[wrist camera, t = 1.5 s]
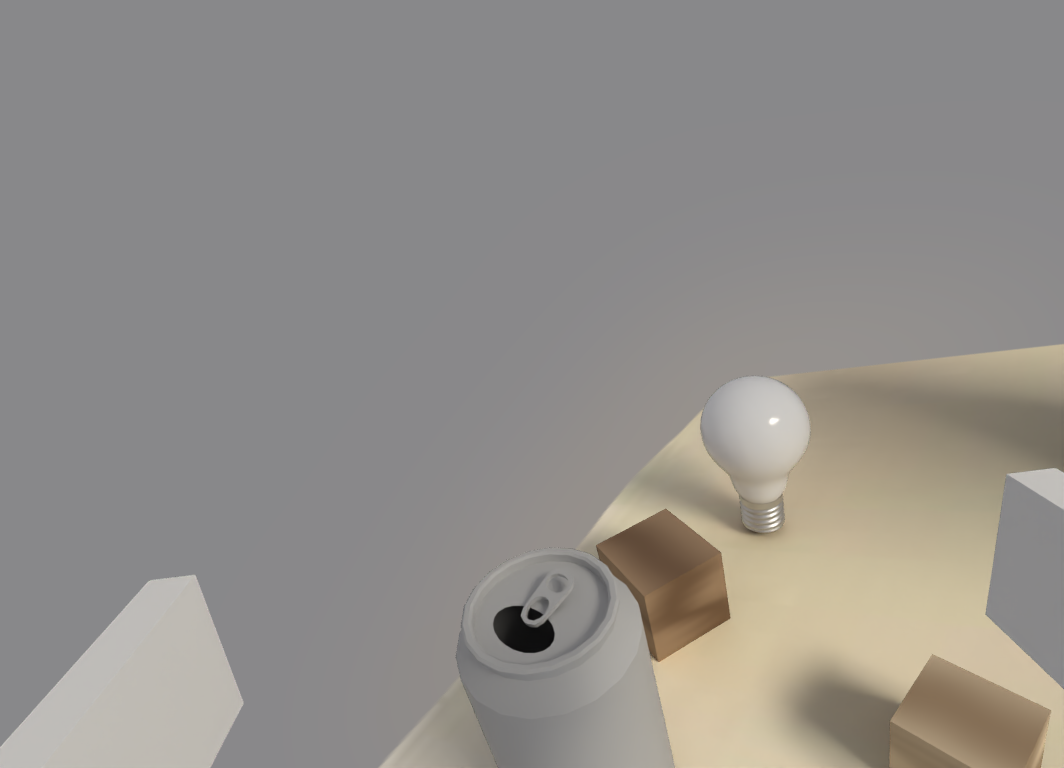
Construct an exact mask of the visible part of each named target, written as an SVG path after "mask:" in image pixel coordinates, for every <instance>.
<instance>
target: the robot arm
mask: <svg viewBox="0 0 1064 768" xmlns="http://www.w3.org/2000/svg"><path fill="white" fill-rule="evenodd" d="M986 615H987V616H988V617H989V618H990V619H991V620H992V621H993V622H994V623H995V624H996V625H997V626H998V627H999V628H1000V629H1001V630H1002V631H1003V632H1004V633H1006V634H1007V635H1008V636H1009V637H1010V638H1011V639H1012V640H1013V641H1014V642H1015V643H1016V644H1017V645H1018V646H1019V647H1020V648H1021V649H1022V650H1023V651H1024V652H1025V653H1026V654H1028V655H1029V656H1030V657H1031V658H1032V659H1033V660H1034V661H1035V662H1036V663H1037V664H1038V665H1039V666H1040V667H1041V668H1042V669H1043V670H1044V671H1045V672H1046V673H1047V674H1049V675H1050V676H1051V677H1052V678H1053V679H1054V680H1055V681H1056V682H1057V683H1058V684H1059V685H1060V686H1061V687H1062V688H1063V689H1064V472H1062V471H1060V470H1058V469H1057V468H1050V469H1042V470H1034V471H1026V472H1018V473H1010V474H1006V481H1005V487H1004V494H1003V501H1002V507H1001V514H1000V521H999V528H998V534H997V541H996V548H995V554H994V561H993V568H992V574H991V581H990V588H989V595H988V601H987V608H986ZM242 705H243V700H242V697H241V695H240V692H239V689H238V687H237V684H236V682H235V679H234V676H233V674H232V671H231V669H230V666H229V663H228V660H227V658H226V655H225V653H224V650H223V647H222V645H221V642H220V639H219V637H218V634H217V631H216V629H215V626H214V623H213V621H212V618H211V616H210V613H209V610H208V608H207V605H206V602H205V600H204V597H203V594H202V592H201V589H200V587H199V584H198V581H197V579H196V576H195V575H190V576H182V577H174V578H166V579H158V580H149V581H148V582H147V584H146V585H145V586H144V587H143V588H142V589H141V590H140V591H139V593H138V594H137V595H136V596H135V597H134V598H133V599H132V600H131V601H130V603H129V604H128V605H127V606H126V607H125V608H124V610H123V611H122V612H121V613H120V614H119V615H118V616H117V617H116V618H115V619H114V620H113V622H112V623H111V624H110V625H109V626H108V627H107V628H106V629H105V631H104V632H103V633H102V634H101V635H100V636H99V637H98V638H97V640H96V641H95V642H94V643H93V644H92V645H91V646H90V647H89V648H88V650H87V651H86V652H85V653H84V654H83V655H82V656H81V657H80V659H79V660H78V661H77V662H76V663H75V664H74V665H73V666H72V668H71V669H70V670H69V671H68V672H67V673H66V674H65V675H64V676H63V678H62V679H61V680H60V681H59V682H58V683H57V684H56V685H55V686H54V688H53V689H52V690H51V691H50V692H49V693H48V694H47V695H46V697H45V698H44V699H43V700H42V701H41V702H40V703H39V704H38V705H37V707H36V708H35V709H34V710H33V711H32V712H31V713H30V714H29V716H28V717H27V718H26V719H25V720H24V721H23V722H22V723H21V724H20V726H19V727H18V728H17V729H16V730H15V731H14V733H12V735H11V736H10V737H9V738H8V739H7V740H6V741H5V742H4V744H3V745H2V746H1V747H0V768H210V767H211V766H212V764H213V762H214V760H215V758H216V756H217V754H218V752H219V750H220V748H221V746H222V744H223V742H224V740H225V738H226V736H227V734H228V732H229V730H230V729H231V726H232V725H233V723H234V721H235V719H236V717H237V715H238V713H239V711H240V709H241V707H242Z"/></svg>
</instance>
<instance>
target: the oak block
mask: <svg viewBox="0 0 1064 768" xmlns="http://www.w3.org/2000/svg"><path fill="white" fill-rule="evenodd" d="M1050 713H1051V710H1049V709H1047V708H1045V707H1043V706H1041V705H1039V704H1037V703H1034V702H1032V701H1030V700H1028V699H1026V698H1024V697H1022V696H1020V695H1018V694H1015V693H1013V692H1011V691H1009V690H1007V689H1005V688H1003V687H1001V686H999V685H996V684H994V683H992V682H990V681H988V680H986V679H984V678H982V677H980V676H977V675H975V674H973V673H971V672H969V671H967V670H965V669H963V668H961V667H958V666H956V665H954V664H952V663H950V662H948V661H946V660H944V659H941V658H939V657H937V656H935V655H933V654H932V656H931V657H930V659H929V660H928V662H927V663H926V665H925V667H924V668H923V670H922V671H921V673H920V674H919V676H918V678H917V679H916V681H915V682H914V684H913V686H912V687H911V689H910V690H909V692H908V693H907V695H906V697H905V698H904V700H903V701H902V703H901V704H900V706H899V708H898V709H897V711H896V712H895V714H894V715H893V717H892V719H891V720H890V761H889V768H1041V763H1042V758H1043V752H1044V746H1045V741H1046V735H1047V730H1048V724H1049V719H1050Z"/></svg>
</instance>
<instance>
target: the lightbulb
mask: <svg viewBox="0 0 1064 768" xmlns="http://www.w3.org/2000/svg"><path fill="white" fill-rule="evenodd" d="M700 430H701V437H702V441H703V444H704V446H705V449H706V451H707V452H708V454H709V455H710V457H711V458H712V459H713V461H714V462H715V463H716V464H717V465H718V466H719V467H720V468H721V469H722V470H724V471H725V472H726V473H727V474H728V475H729V477H730V478H731V481H732V484H733V486H734V488H735V490H736V492H737V493H738V494H739V499H740V505H741V506H740V508H741V514H742V522H743V524H744V525H745V526H746V527H747V528H748V529H750V530H752V531H755V532H759V533H769V532H773V531H776V530H778V529H780V528H781V527H782V526H783V524H784V522H785V517H784V516H785V514H784V503H783V492H784V490H785V488H786V485H787V481H788V475H789V473H790V471H791V470H792V469H793V468H794V467H795V466H796V465H797V463H798V462H799V461H800V459H801V458H802V457H803V455H804V453H805V451H806V449H807V447H808V444H809V440H810V434H811V424H810V418H809V414H808V411H807V409H806V407H805V405H804V403H803V401H802V400H801V399H800V397H799V396H798V395H797V394H796V393H795V392H794V391H793V390H792V389H791V388H789V387H788V386H787V385H785V384H783V383H782V382H780V381H777V380H775V379H772V378H768V377H763V376H746V377H740V378H737V379H734V380H731V381H729V382H727V383H725V384H724V385H722V386H721V387H720V388H718V389H717V390H716V391H715V392H714V393H713V394H712V395H711V397H710V398H709V399H708V401H707V403H706V405H705V407H704V409H703V412H702V416H701V424H700Z"/></svg>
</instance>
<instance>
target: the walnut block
mask: <svg viewBox="0 0 1064 768" xmlns="http://www.w3.org/2000/svg"><path fill="white" fill-rule="evenodd" d="M596 547H597V551H598V555H599V559H600V561H601V562H603V563H604V564H605V565H607V567H608V568H609V570H610V571H611V573H612V574H613V576H615V577H616V578H617V579H619V580H620V581H622V582H623V583H624V584H626V585H627V587H628V589H629V590H630V592H631V593H632V595H633V596H634V598H635V599H636V601H637V602H638V604H639V609H640V613H641V617H642V622H643V626H644V631H645V635H646V640H647V644H648V648H649V651H650V653H651V654H652V655H653V656H654V657H655V658H656V660H657V661H658V662H660V661H661V660H663V659H665V658H666V657H668V656H669V655H671V654H673V653H674V652H676V651H678V650H679V649H681V648H682V647H684V646H686V645H687V644H689V643H691V642H692V641H694V640H696V639H697V638H699V637H700V636H702V635H704V634H705V633H707V632H709V631H710V630H712V629H714V628H715V627H717V626H718V625H720V624H722V623H723V622H725V621H727V620H728V619H730V612H729V605H728V598H727V591H726V584H725V577H724V570H723V563H722V556H721V552H720V551H718V550H717V549H716V548H715V547H713V546H712V545H711V544H710V543H708V542H707V541H706V540H705V539H703V538H702V537H701V536H700V535H698V534H697V533H696V532H695V531H693V530H692V529H691V528H690V527H688V526H687V525H686V524H685V523H683V522H682V521H681V520H679V519H678V518H677V517H676V516H674V515H673V514H672V513H671V512H669V511H668V510H667V509H664V510H662V511H660V512H659V513H657V514H655V515H653V516H651V517H649V518H647V519H645V520H643V521H641V522H640V523H638V524H636V525H634V526H632V527H630V528H628V529H626V530H624V531H622V532H621V533H619V534H617V535H615V536H613V537H611V538H609V539H607V540H605V541H603V542H602V543H600V544H598V545H596Z"/></svg>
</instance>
